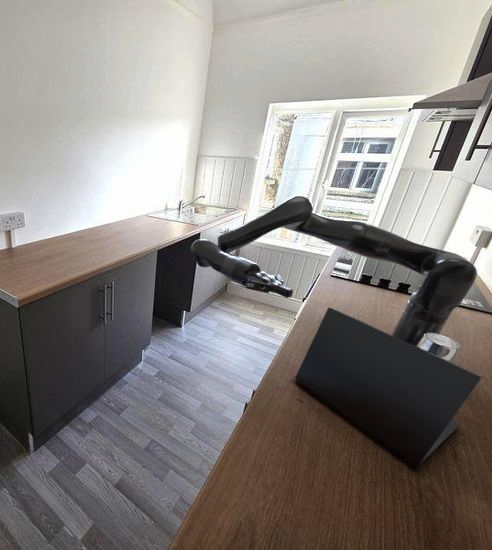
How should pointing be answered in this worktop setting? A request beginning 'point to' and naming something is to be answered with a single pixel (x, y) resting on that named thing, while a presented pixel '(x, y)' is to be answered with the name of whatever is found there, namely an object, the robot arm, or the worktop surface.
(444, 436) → the laptop
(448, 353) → the beer glass
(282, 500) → the worktop surface
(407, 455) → the laptop screen
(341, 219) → the robot arm
